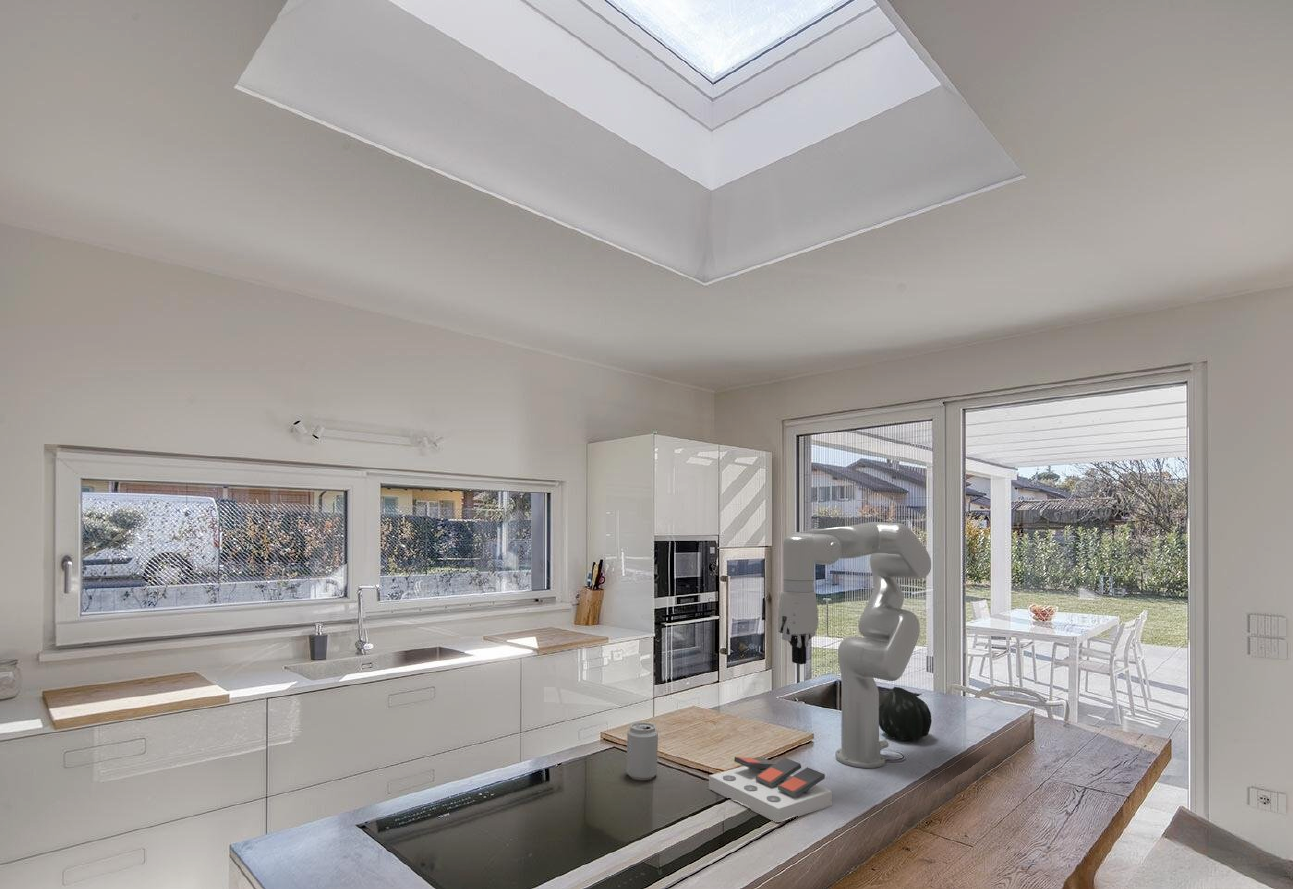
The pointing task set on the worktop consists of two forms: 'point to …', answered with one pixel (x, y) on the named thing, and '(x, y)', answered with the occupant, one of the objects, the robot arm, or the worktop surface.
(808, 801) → the rocker switch panel
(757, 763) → the rocker
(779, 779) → the rocker middle
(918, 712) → the squash
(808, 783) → the rocker
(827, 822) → the worktop surface
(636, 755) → the can
